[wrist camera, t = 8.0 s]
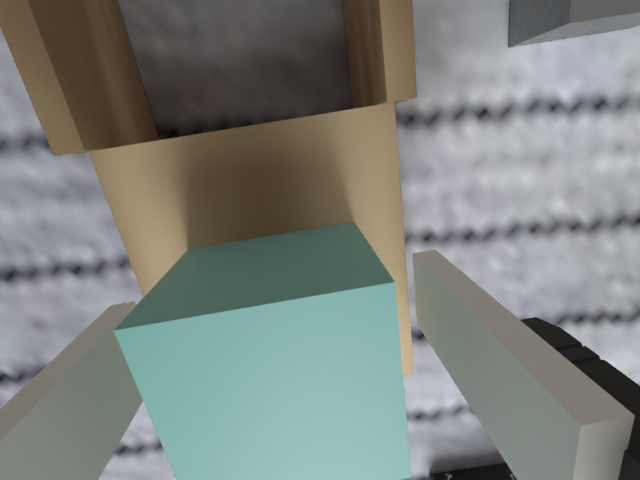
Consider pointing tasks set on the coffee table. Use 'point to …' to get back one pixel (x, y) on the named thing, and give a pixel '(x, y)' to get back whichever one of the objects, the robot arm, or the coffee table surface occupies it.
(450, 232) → the coffee table surface
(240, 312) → the block
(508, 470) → the box
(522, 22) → the dark grey block
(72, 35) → the drawer
